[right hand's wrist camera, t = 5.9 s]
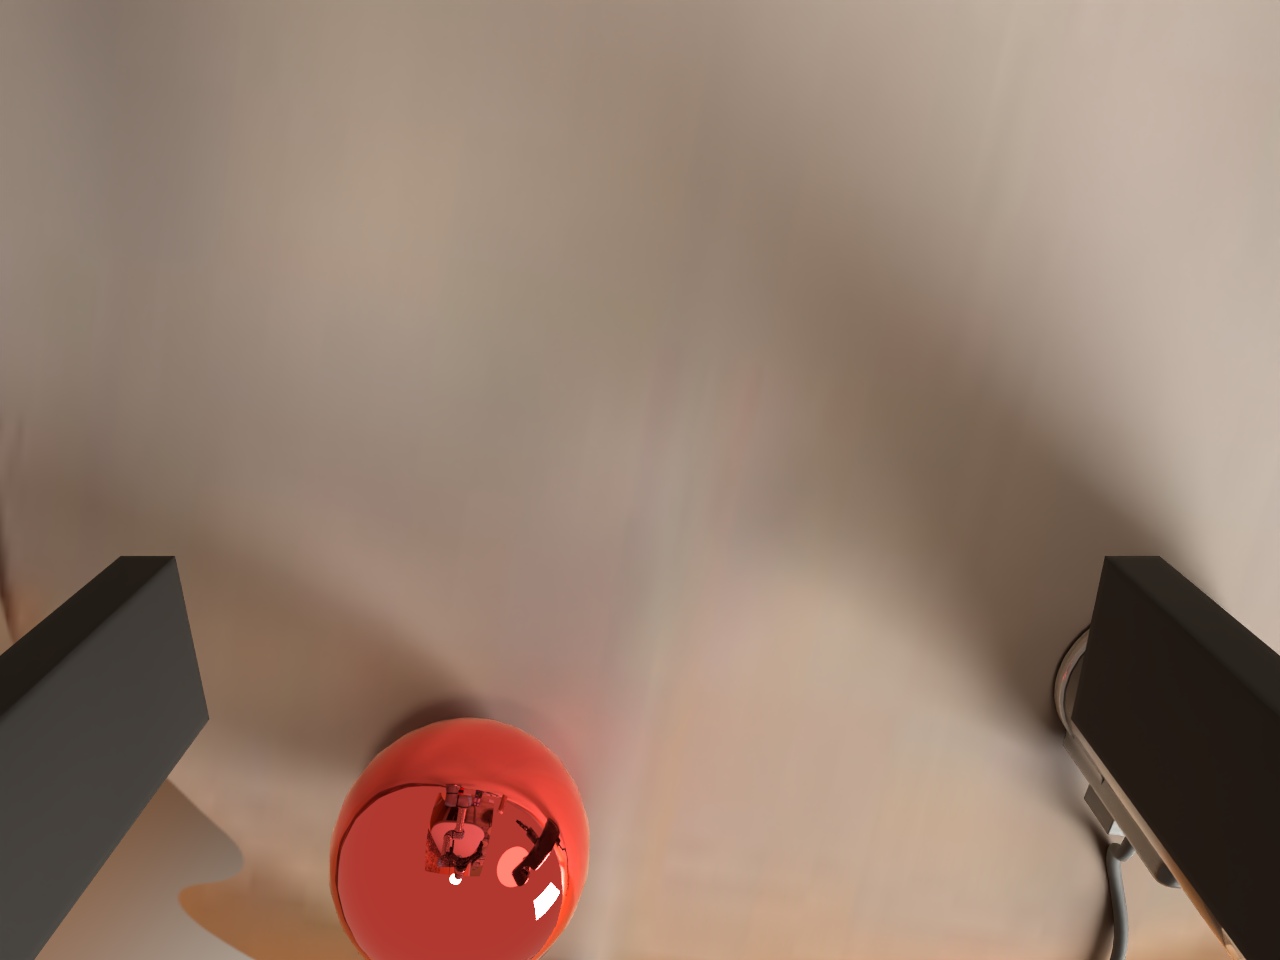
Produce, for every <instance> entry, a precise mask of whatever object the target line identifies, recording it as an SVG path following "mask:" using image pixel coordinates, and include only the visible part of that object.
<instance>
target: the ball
mask: <svg viewBox="0 0 1280 960" xmlns="http://www.w3.org/2000/svg"><path fill="white" fill-rule="evenodd" d="M588 869H589V823H588V818H587V815H586V812H585V808H584V805H583V802H582V799H581V796H580V792H579V789H578V787H577V785H576V783H575V781H574V780H573V778H572V777H571V775H570V774H569V772H568V771H567V769H566V768H565V766H564V765H563V763H562V762H561V760H560V759H559V758H558V757H557V756H556V755H555V754H554V753H553V752H552V751H551V750H550V749H549V748H548V747H546V746H545V745H544V744H543V743H542V742H541V741H540V740H538V739H537V738H536V737H534V736H532V735H530V734H528V733H526V732H525V731H523V730H521V729H519V728H517V727H515V726H513V725H510V724H506V723H503V722H499V721H496V720H492V719H484V718H471V717H463V718H456V719H449V720H441V721H437V722H434V723H431V724H429V725H426V726H424V727H421V728H418V729H416V730H413V731H410V732H408V733H407V734H405V735H404V736H402V737H401V738H399V739H398V740H396V741H395V742H394V743H392V744H391V745H389V746H388V747H386V748H385V749H384V750H382V751H381V752H380V753H378V754H377V755H376V756H375V757H374V759H373V760H372V761H371V762H370V763H369V765H368V766H367V767H366V768H365V770H364V771H363V772H362V773H361V775H360V776H359V777H358V778H357V780H356V781H355V782H354V783H353V785H352V786H351V788H350V789H349V791H348V793H347V795H346V797H345V800H344V802H343V805H342V808H341V810H340V813H339V815H338V818H337V821H336V823H335V826H334V829H333V832H332V836H331V842H330V861H329V885H330V890H331V895H332V898H333V902H334V905H335V908H336V912H337V915H338V918H339V921H340V924H341V926H342V928H343V930H344V932H345V933H346V935H347V936H348V938H349V939H350V941H351V942H352V944H353V945H354V947H355V948H356V950H357V951H358V952H359V954H360V955H361V956H362V957H363V958H364V959H365V960H539V959H540V958H541V957H543V956H544V955H545V954H546V953H547V952H548V951H549V950H550V948H551V947H552V946H553V944H554V943H555V942H556V940H557V939H558V937H559V936H560V935H561V933H562V932H563V931H564V929H565V928H566V927H567V925H568V924H569V922H570V921H571V919H572V917H573V915H574V913H575V911H576V908H577V905H578V902H579V899H580V897H581V894H582V891H583V888H584V885H585V882H586V879H587V874H588Z"/></svg>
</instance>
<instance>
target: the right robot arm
mask: <svg viewBox="0 0 1280 960" xmlns="http://www.w3.org/2000/svg"><path fill="white" fill-rule="evenodd" d="M208 720H209V715H208V711H207V706H206V701H205V696H204V692H203V687H202V682H201V677H200V673H199V668H198V663H197V658H196V654H195V649H194V644H193V640H192V635H191V630H190V625H189V621H188V616H187V611H186V606H185V602H184V597H183V592H182V587H181V583H180V578H179V573H178V569H177V564H176V559H175V556H120V557H119V558H118V559H117V560H115V561H114V562H113V563H112V564H111V565H109V566H108V567H107V568H106V569H105V570H103V571H102V572H101V573H100V574H98V575H97V576H96V577H95V578H94V579H92V580H91V581H90V582H89V583H88V584H86V585H85V586H84V587H83V588H82V589H80V590H79V591H78V592H77V593H76V594H74V595H73V596H72V597H71V598H69V599H68V600H67V601H66V602H65V603H63V604H62V605H61V606H60V607H59V608H57V609H56V610H55V611H54V612H53V613H51V614H50V615H49V616H48V617H46V618H45V619H44V620H43V621H42V622H40V623H39V624H38V625H37V626H36V627H34V628H33V629H32V630H31V631H30V632H28V633H27V634H26V635H25V636H23V637H22V638H21V639H20V640H19V641H17V642H16V643H15V644H14V645H13V646H11V647H10V648H9V649H8V650H7V651H5V652H4V653H3V654H2V655H1V656H0V960H34V959H35V958H36V956H37V955H38V954H39V952H40V951H41V950H42V948H43V947H44V945H45V944H46V943H47V941H48V940H49V939H50V937H51V936H52V934H53V933H54V932H55V930H56V929H57V928H58V926H59V925H60V923H61V922H62V921H63V919H64V918H65V917H66V915H67V914H68V912H69V911H70V910H71V908H72V907H73V906H74V904H75V903H76V901H77V900H78V899H79V897H80V896H81V895H82V893H83V892H84V890H85V889H86V888H87V886H88V885H89V884H90V882H91V881H92V879H93V878H94V877H95V875H96V874H97V873H98V871H99V870H100V868H101V867H102V866H103V864H104V863H105V862H106V860H107V859H108V857H109V856H110V855H111V853H112V852H113V851H114V849H115V848H116V846H117V845H118V844H119V842H120V841H121V840H122V838H123V837H124V835H125V834H126V833H127V831H128V830H129V829H130V827H131V826H132V824H133V823H134V822H135V820H136V819H137V818H138V816H139V815H140V813H141V812H142V811H143V809H144V808H145V807H146V805H147V804H148V802H149V801H150V800H151V798H152V797H153V796H154V794H155V793H156V791H157V790H158V789H159V787H160V786H161V785H162V783H163V782H164V781H165V779H166V778H167V776H168V775H169V774H170V772H171V771H172V770H173V768H174V767H175V765H176V764H177V763H178V761H179V760H180V759H181V757H182V756H183V754H184V753H185V752H186V750H187V749H188V748H189V746H190V745H191V743H192V742H193V741H194V739H195V738H196V737H197V735H198V734H199V732H200V731H201V730H202V728H203V727H204V726H205V724H206V723H207V721H208ZM1071 720H1072V721H1073V723H1074V724H1075V726H1076V727H1077V728H1078V730H1079V731H1080V732H1081V734H1082V735H1083V737H1084V738H1085V739H1086V741H1087V742H1088V743H1089V745H1090V746H1091V748H1092V749H1093V750H1094V752H1095V753H1096V754H1097V756H1098V757H1099V759H1100V760H1101V761H1102V763H1103V764H1104V765H1105V767H1106V768H1107V770H1108V771H1109V772H1110V774H1111V775H1112V776H1113V778H1114V779H1115V781H1116V782H1117V783H1118V785H1119V786H1120V787H1121V789H1122V790H1123V792H1124V793H1125V794H1126V796H1127V797H1128V798H1129V800H1130V801H1131V802H1132V804H1133V805H1134V807H1135V808H1136V809H1137V811H1138V812H1139V813H1140V815H1141V816H1142V818H1143V819H1144V820H1145V822H1146V823H1147V824H1148V826H1149V827H1150V829H1151V830H1152V831H1153V833H1154V834H1155V835H1156V837H1157V838H1158V840H1159V841H1160V842H1161V844H1162V845H1163V846H1164V848H1165V849H1166V851H1167V852H1168V853H1169V855H1170V856H1171V857H1172V859H1173V860H1174V862H1175V863H1176V864H1177V866H1178V867H1179V868H1180V870H1181V871H1182V873H1183V874H1184V875H1185V877H1186V878H1187V879H1188V881H1189V882H1190V884H1191V885H1192V886H1193V888H1194V889H1195V890H1196V892H1197V893H1198V895H1199V896H1200V897H1201V899H1202V900H1203V901H1204V903H1205V904H1206V906H1207V907H1208V908H1209V910H1210V911H1211V912H1212V914H1213V915H1214V917H1215V918H1216V919H1217V921H1218V922H1219V923H1220V925H1221V926H1222V928H1223V929H1224V930H1225V932H1226V933H1227V934H1228V936H1229V937H1230V939H1231V940H1232V941H1233V943H1234V944H1235V945H1236V947H1237V948H1238V950H1239V951H1240V952H1241V954H1242V955H1243V956H1244V958H1245V959H1246V960H1280V656H1279V655H1278V654H1277V653H1276V652H1275V651H1273V650H1272V649H1271V648H1270V647H1269V646H1267V645H1266V644H1265V643H1264V642H1263V641H1261V640H1260V639H1259V638H1258V637H1257V636H1255V635H1254V634H1253V633H1252V632H1250V631H1249V630H1248V629H1247V628H1246V627H1244V626H1243V625H1242V624H1241V623H1240V622H1238V621H1237V620H1236V619H1235V618H1234V617H1232V616H1231V615H1230V614H1229V613H1227V612H1226V611H1225V610H1224V609H1223V608H1221V607H1220V606H1219V605H1218V604H1217V603H1215V602H1214V601H1213V600H1212V599H1211V598H1209V597H1208V596H1207V595H1206V594H1204V593H1203V592H1202V591H1201V590H1200V589H1198V588H1197V587H1196V586H1195V585H1194V584H1192V583H1191V582H1190V581H1189V580H1188V579H1186V578H1185V577H1184V576H1183V575H1182V574H1180V573H1179V572H1178V571H1177V570H1175V569H1174V568H1173V567H1172V566H1171V565H1169V564H1168V563H1167V562H1166V561H1165V560H1163V559H1162V558H1161V557H1160V556H1105V559H1104V564H1103V569H1102V573H1101V578H1100V583H1099V587H1098V592H1097V597H1096V602H1095V606H1094V611H1093V616H1092V621H1091V625H1090V630H1089V635H1088V640H1087V644H1086V649H1085V654H1084V658H1083V663H1082V668H1081V673H1080V677H1079V682H1078V687H1077V692H1076V696H1075V701H1074V706H1073V711H1072V715H1071Z"/></svg>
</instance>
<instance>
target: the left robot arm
mask: <svg viewBox="0 0 1280 960" xmlns="http://www.w3.org/2000/svg"><path fill="white" fill-rule="evenodd" d="M1089 630H1090V628H1089V629H1088V630H1087V631H1086V632H1085V633H1084V634H1083V635H1082V636H1081V637H1080V638H1079V639H1078V640H1077V641H1076V642H1075V643H1074V645H1073V646H1072V647H1071V648H1070V650H1069V651H1068V653H1067V654H1066V656H1065V658H1064V660H1063V661H1062V663H1061V666H1060V668H1059V671H1058V674H1057V677H1056V682H1055V691H1054V696H1055V705H1056V709H1057V713H1058V715H1059V718H1060V720H1061V722H1062V723H1063V725H1064V727H1065V728H1066V729H1067V730H1066V736H1065V738H1064V741H1063V746H1064V747H1065V749H1066V750H1067V751H1068V753H1069V754H1070V756H1071V757H1072V759H1073V760H1074V762H1075V763H1076V765H1077V766H1078V768H1079V769H1080V770H1081V772H1082V773H1083V775H1084V776H1085V778H1086V779H1087V781H1088V782H1089V787H1088V789H1087V792H1086V794H1085V797H1084V799H1085V801H1086V802H1087V804H1088V805H1089V807H1090V808H1091V810H1092V811H1093V813H1094V814H1095V816H1096V817H1097V819H1098V820H1099V822H1100V823H1101V825H1102V826H1103V828H1104V829H1105V831H1106V832H1107V834H1109V835H1118V836H1126V837H1125V838H1124V840H1123V842H1122V843H1121V845H1120V844H1117V843H1112V844H1110V845H1109V847H1108V850H1107V855H1106V866H1107V873H1108V879H1109V885H1110V893H1111V900H1112V907H1113V916H1114V942H1113V949H1112V954H1111V958H1110V960H1125V957H1126V953H1127V945H1128V917H1127V908H1126V901H1125V894H1124V888H1123V882H1122V875H1121V861H1127V860H1128V859H1130V858H1131V857H1132V856H1133V855H1134V854H1135V852H1137V854H1138V855H1139V857H1140V858H1141V860H1142V861H1143V863H1144V864H1145V865H1146V867H1147V868H1148V870H1149V871H1150V873H1151V874H1152V876H1153V877H1154V878H1155V880H1156V881H1157V882H1159V883H1160V884H1162V885H1164V886H1166V887H1171V888H1181V889H1183V890H1184V892H1185V893H1186V895H1187V896H1188V898H1189V899H1190V900H1191V902H1192V903H1193V905H1194V906H1195V907H1196V909H1197V910H1198V912H1199V913H1200V914H1201V916H1202V917H1203V919H1204V920H1205V921H1206V923H1207V924H1208V926H1209V927H1210V928H1211V930H1212V931H1213V933H1214V934H1215V935H1216V937H1217V938H1218V940H1219V941H1220V942H1221V944H1222V945H1223V947H1224V948H1225V950H1226V951H1227V952H1228V954H1229V955H1230V957H1231V958H1232V959H1233V960H1246V959H1245V958H1244V956H1243V955H1242V954H1241V952H1240V951H1239V950H1238V948H1237V947H1236V945H1235V944H1234V943H1233V941H1232V940H1231V939H1230V937H1229V936H1228V934H1227V933H1226V932H1225V930H1224V929H1223V928H1222V926H1221V925H1220V923H1219V922H1218V921H1217V919H1216V918H1215V917H1214V915H1213V914H1212V912H1211V911H1210V910H1209V908H1208V907H1207V906H1206V904H1205V903H1204V901H1203V900H1202V899H1201V897H1200V896H1199V895H1198V893H1197V892H1196V890H1195V889H1194V888H1193V886H1192V885H1191V884H1190V882H1189V881H1188V879H1187V878H1186V877H1185V875H1184V874H1183V873H1182V871H1181V870H1180V868H1179V867H1178V866H1177V864H1176V863H1175V862H1174V860H1173V859H1172V857H1171V856H1170V855H1169V853H1168V852H1167V851H1166V849H1165V848H1164V846H1163V845H1162V844H1161V842H1160V841H1159V840H1158V838H1157V837H1156V835H1155V834H1154V833H1153V831H1152V830H1151V829H1150V827H1149V826H1148V824H1147V823H1146V822H1145V820H1144V819H1143V818H1142V816H1141V815H1140V813H1139V812H1138V811H1137V809H1136V808H1135V807H1134V805H1133V804H1132V802H1131V801H1130V800H1129V798H1128V797H1127V796H1126V794H1125V793H1124V792H1123V790H1122V789H1121V787H1120V786H1119V785H1118V783H1117V782H1116V781H1115V779H1114V778H1113V776H1112V775H1111V774H1110V772H1109V771H1108V770H1107V768H1106V767H1105V765H1104V764H1103V763H1102V761H1101V760H1100V759H1099V757H1098V756H1097V754H1096V753H1095V752H1094V750H1093V749H1092V748H1091V746H1090V745H1089V743H1088V742H1087V741H1086V739H1085V738H1084V737H1083V735H1082V734H1081V732H1080V731H1079V730H1078V728H1077V727H1076V726H1075V724H1074V723H1073V721H1072V720H1071V715H1072V711H1073V706H1074V701H1075V696H1076V692H1077V687H1078V682H1079V677H1080V673H1081V668H1082V663H1083V658H1084V654H1085V649H1086V644H1087V640H1088V635H1089Z"/></svg>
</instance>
